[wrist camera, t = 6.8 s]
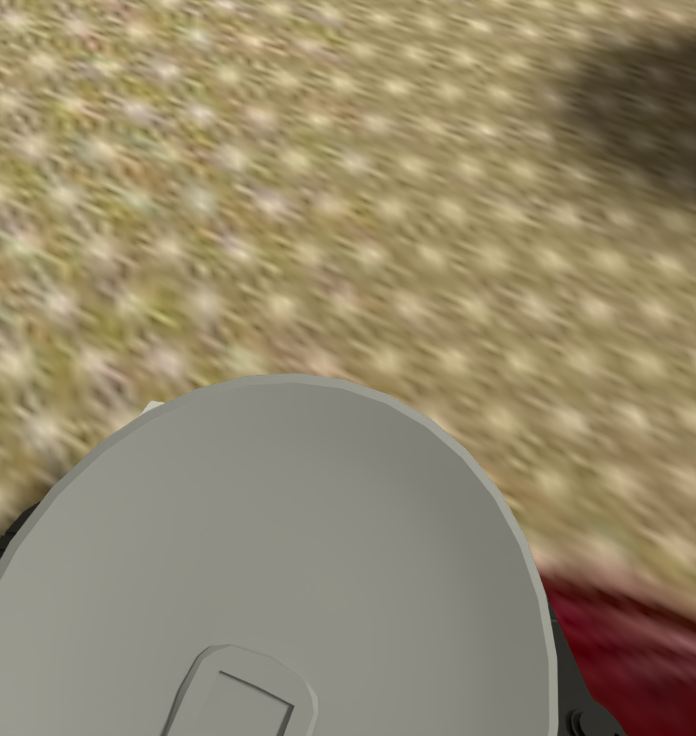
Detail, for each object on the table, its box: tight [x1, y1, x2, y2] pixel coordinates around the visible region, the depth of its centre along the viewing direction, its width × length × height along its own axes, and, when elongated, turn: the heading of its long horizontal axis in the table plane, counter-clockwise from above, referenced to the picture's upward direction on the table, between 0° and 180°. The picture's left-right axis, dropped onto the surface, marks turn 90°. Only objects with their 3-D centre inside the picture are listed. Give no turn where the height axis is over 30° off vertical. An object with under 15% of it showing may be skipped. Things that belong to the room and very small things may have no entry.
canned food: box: [0, 373, 558, 736], centre depth 11 cm, size 8×8×11 cm
